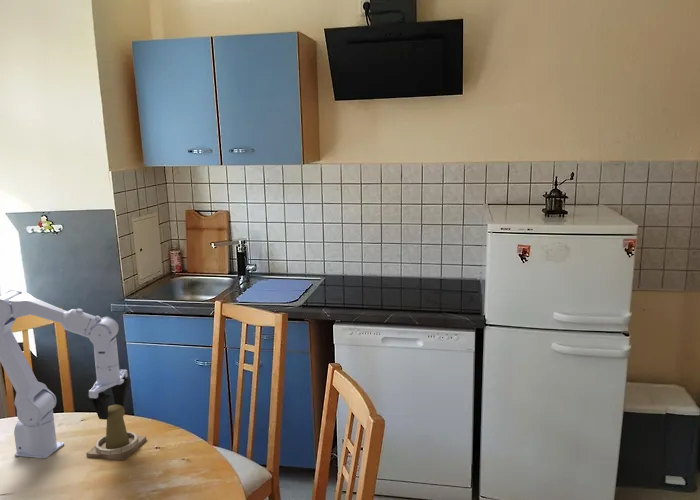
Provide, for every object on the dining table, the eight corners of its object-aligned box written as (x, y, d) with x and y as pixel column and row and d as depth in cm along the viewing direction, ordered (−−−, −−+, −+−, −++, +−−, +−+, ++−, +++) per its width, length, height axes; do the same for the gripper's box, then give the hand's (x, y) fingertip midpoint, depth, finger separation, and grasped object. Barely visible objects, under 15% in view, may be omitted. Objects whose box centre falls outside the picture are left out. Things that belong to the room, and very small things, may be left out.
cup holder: (86, 456, 157) (85, 449, 157) (110, 436, 168) (110, 429, 167) (124, 460, 155) (123, 452, 154) (146, 439, 165) (145, 432, 165)
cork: (122, 450, 158) (119, 412, 156) (101, 449, 158) (97, 411, 156) (133, 439, 164) (129, 402, 162) (112, 438, 164) (108, 401, 162)
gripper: (104, 375, 149) (109, 426, 152) (135, 355, 163) (139, 401, 166) (79, 374, 150) (84, 423, 153) (112, 353, 164) (116, 399, 167)
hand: (111, 412), depth 159 cm, fingers open, 7 cm apart
